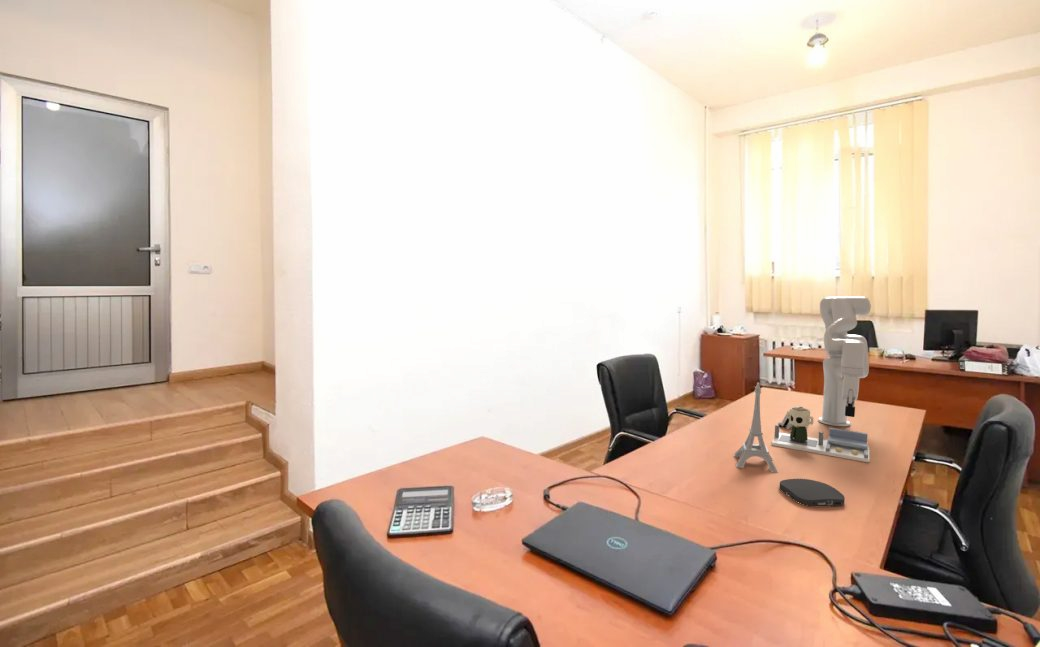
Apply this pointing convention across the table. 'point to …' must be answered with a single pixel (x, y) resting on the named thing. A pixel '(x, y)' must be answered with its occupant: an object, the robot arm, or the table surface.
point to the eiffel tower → (755, 431)
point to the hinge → (787, 421)
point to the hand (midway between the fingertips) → (849, 416)
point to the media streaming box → (812, 492)
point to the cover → (848, 438)
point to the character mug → (799, 423)
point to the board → (820, 446)
